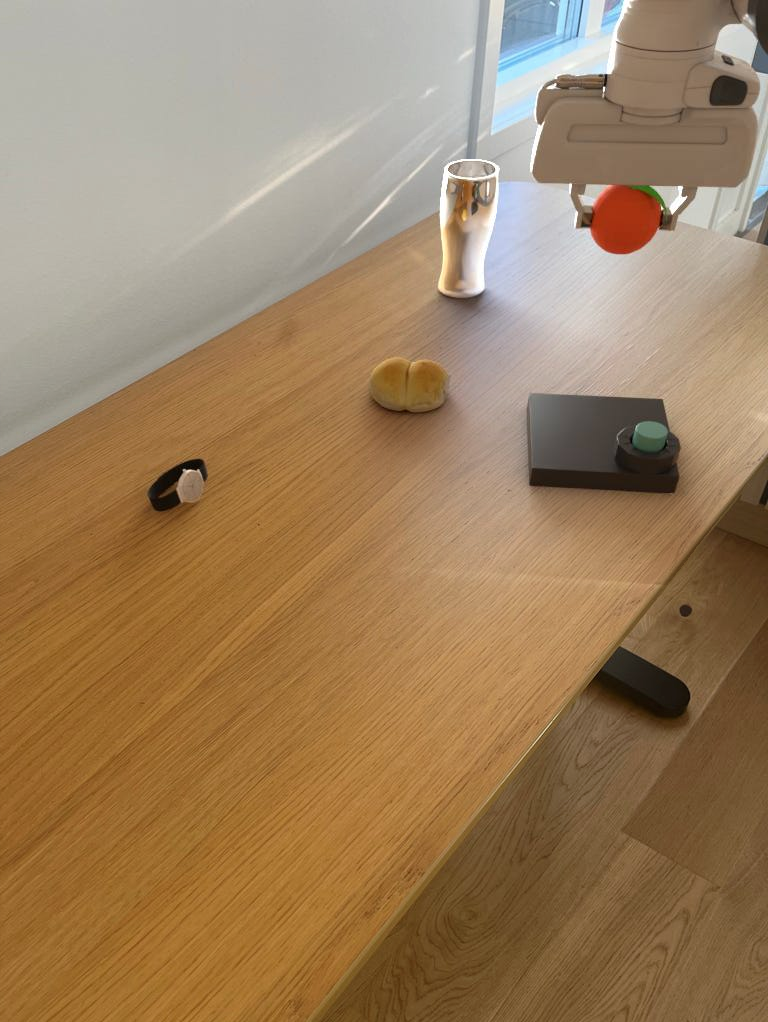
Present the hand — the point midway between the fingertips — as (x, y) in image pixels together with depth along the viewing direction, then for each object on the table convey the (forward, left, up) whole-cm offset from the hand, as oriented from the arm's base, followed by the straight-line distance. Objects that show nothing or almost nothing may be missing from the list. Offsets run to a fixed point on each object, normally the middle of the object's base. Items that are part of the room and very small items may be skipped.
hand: (623, 227), depth 96 cm
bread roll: (+20, +5, -18) cm, 27 cm away
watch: (+42, +26, -18) cm, 53 cm away
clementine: (0, 0, -3) cm, 3 cm away
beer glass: (+15, -22, -18) cm, 32 cm away
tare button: (-4, +18, -14) cm, 23 cm away
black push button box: (0, +14, -17) cm, 22 cm away
